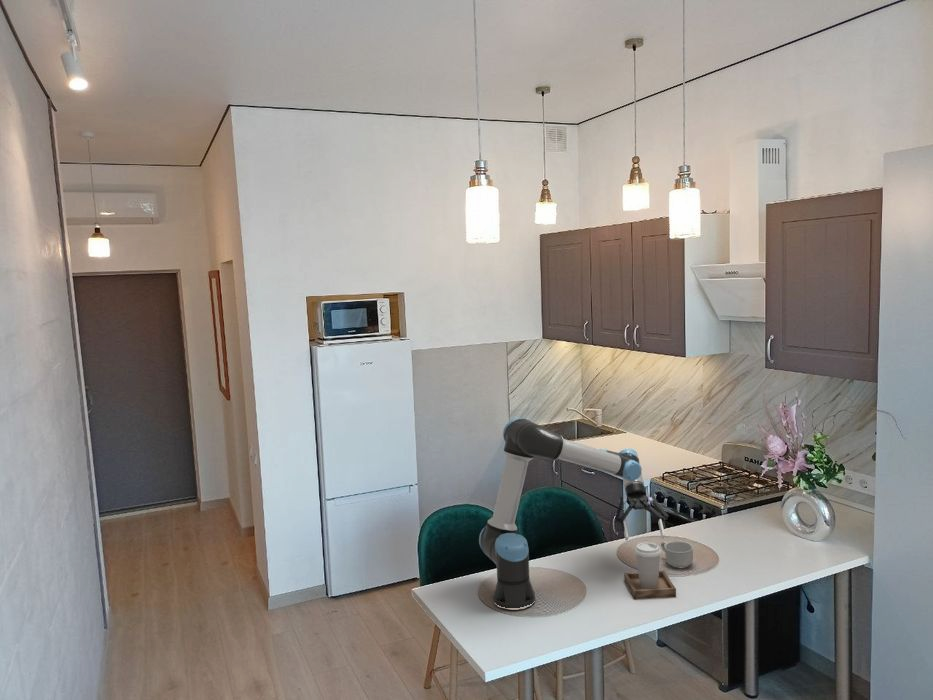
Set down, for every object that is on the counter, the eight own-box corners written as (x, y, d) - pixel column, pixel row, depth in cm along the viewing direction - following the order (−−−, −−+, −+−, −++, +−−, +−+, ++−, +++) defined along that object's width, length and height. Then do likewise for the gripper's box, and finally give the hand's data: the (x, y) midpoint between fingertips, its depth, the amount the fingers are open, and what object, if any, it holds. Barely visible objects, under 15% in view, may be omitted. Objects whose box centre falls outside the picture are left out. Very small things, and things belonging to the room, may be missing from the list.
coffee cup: (663, 592, 249) (662, 552, 247) (636, 591, 251) (634, 551, 249) (661, 580, 258) (660, 541, 257) (635, 579, 260) (633, 541, 259)
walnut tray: (634, 599, 247) (633, 591, 247) (624, 580, 262) (624, 573, 262) (676, 596, 247) (675, 588, 247) (664, 578, 262) (663, 570, 262)
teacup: (699, 567, 270) (699, 547, 269) (676, 573, 266) (676, 553, 265) (676, 554, 283) (675, 535, 282) (654, 560, 279) (653, 541, 278)
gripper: (664, 489, 274) (676, 540, 261) (601, 492, 275) (610, 543, 261) (668, 480, 269) (680, 532, 255) (603, 483, 269) (613, 535, 256)
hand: (645, 538), depth 258 cm, fingers open, 13 cm apart
